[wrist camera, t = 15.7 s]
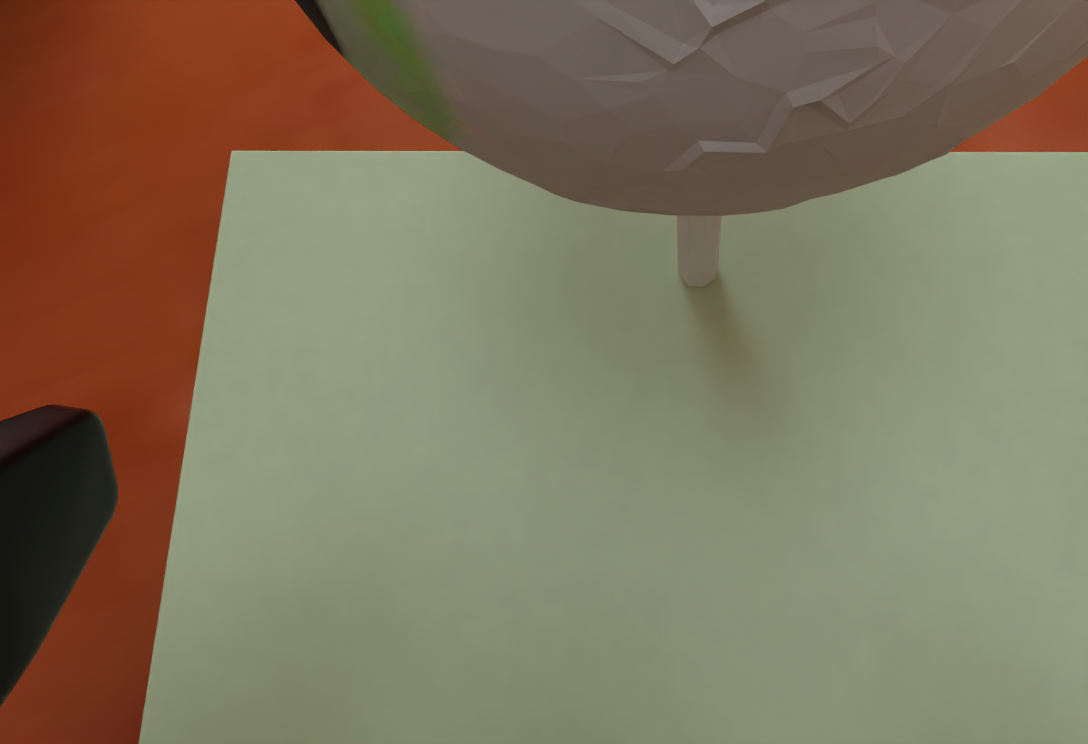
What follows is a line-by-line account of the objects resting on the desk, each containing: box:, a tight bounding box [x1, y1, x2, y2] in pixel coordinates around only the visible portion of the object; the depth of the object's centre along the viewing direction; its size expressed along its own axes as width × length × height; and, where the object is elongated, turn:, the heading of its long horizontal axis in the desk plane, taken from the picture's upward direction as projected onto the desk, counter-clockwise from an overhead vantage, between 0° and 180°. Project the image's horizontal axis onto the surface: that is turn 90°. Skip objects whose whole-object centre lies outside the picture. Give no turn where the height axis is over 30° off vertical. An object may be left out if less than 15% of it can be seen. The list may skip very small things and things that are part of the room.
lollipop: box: [295, 0, 1088, 287], centre depth 11 cm, size 7×7×15 cm
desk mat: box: [139, 151, 1088, 744], centre depth 16 cm, size 20×18×1 cm
